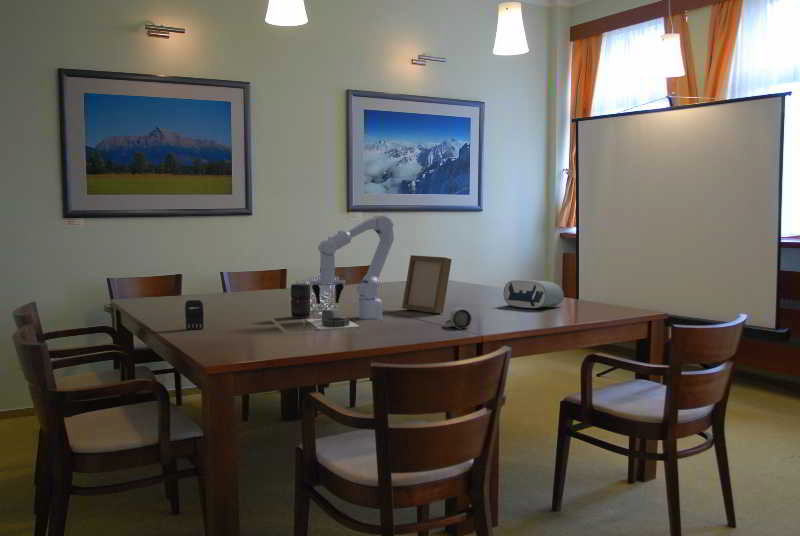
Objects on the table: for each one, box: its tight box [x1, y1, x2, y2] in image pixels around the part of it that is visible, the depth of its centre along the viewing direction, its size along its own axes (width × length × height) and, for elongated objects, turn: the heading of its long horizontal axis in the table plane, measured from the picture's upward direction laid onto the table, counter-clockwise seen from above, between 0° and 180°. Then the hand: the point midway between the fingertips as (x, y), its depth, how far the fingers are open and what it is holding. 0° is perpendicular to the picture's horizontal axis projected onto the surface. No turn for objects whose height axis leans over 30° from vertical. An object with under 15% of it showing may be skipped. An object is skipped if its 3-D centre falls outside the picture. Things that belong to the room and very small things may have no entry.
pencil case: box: [503, 279, 565, 309], centre depth 322 cm, size 22×19×13 cm
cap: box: [321, 309, 335, 319], centre depth 278 cm, size 5×5×4 cm
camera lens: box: [290, 283, 311, 320], centre depth 285 cm, size 8×8×15 cm
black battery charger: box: [184, 299, 205, 330], centre depth 263 cm, size 7×4×11 cm, turn 106°
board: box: [305, 316, 361, 332], centre depth 272 cm, size 16×24×3 cm, turn 19°
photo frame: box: [401, 254, 453, 315], centre depth 309 cm, size 15×22×25 cm
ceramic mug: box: [442, 307, 473, 330], centre depth 266 cm, size 11×8×8 cm
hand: (327, 303), depth 278 cm, fingers open, 7 cm apart
